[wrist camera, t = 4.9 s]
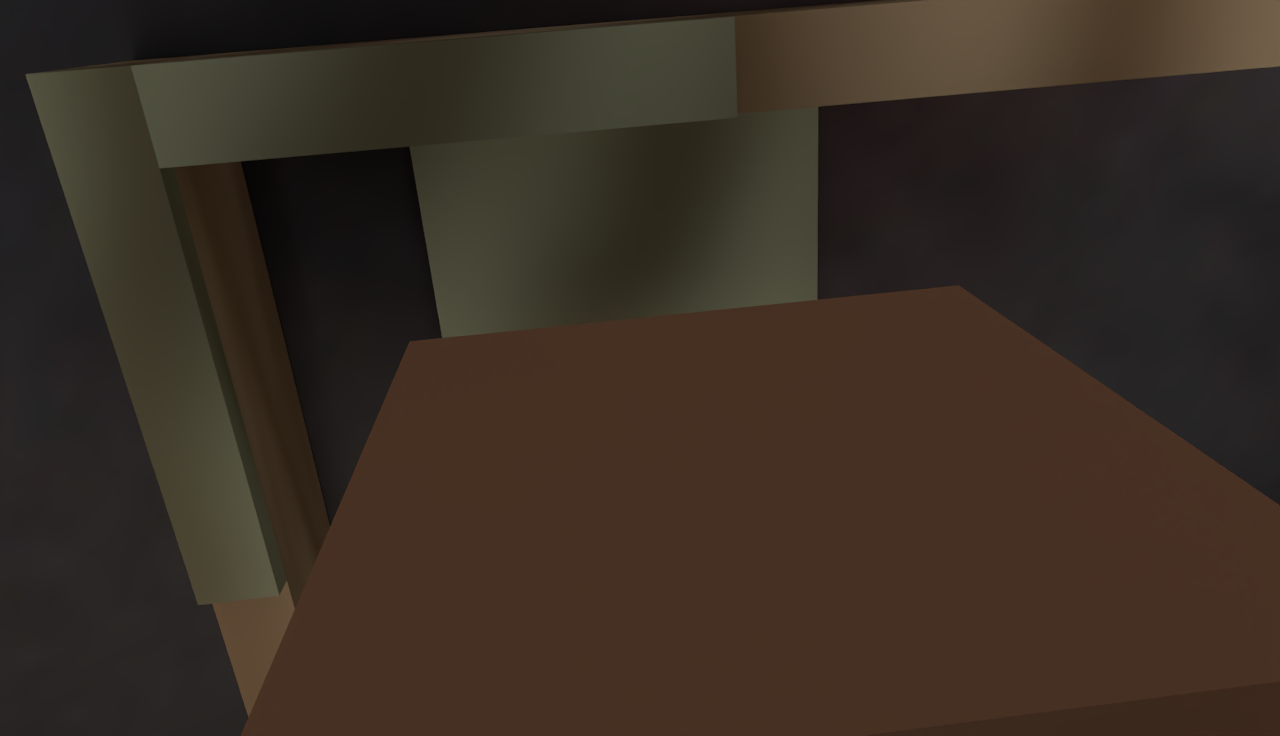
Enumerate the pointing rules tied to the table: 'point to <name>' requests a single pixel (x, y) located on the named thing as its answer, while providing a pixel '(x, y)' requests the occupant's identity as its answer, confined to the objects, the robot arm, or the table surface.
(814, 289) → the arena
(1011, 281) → the table surface
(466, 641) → the cube
